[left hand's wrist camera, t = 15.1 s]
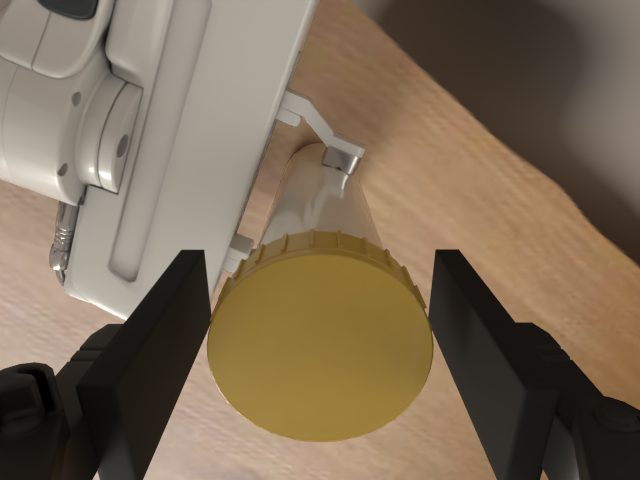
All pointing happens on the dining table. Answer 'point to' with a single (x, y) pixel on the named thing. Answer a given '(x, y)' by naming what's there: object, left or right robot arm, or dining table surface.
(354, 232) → the jar
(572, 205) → the dining table surface
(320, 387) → the lid
